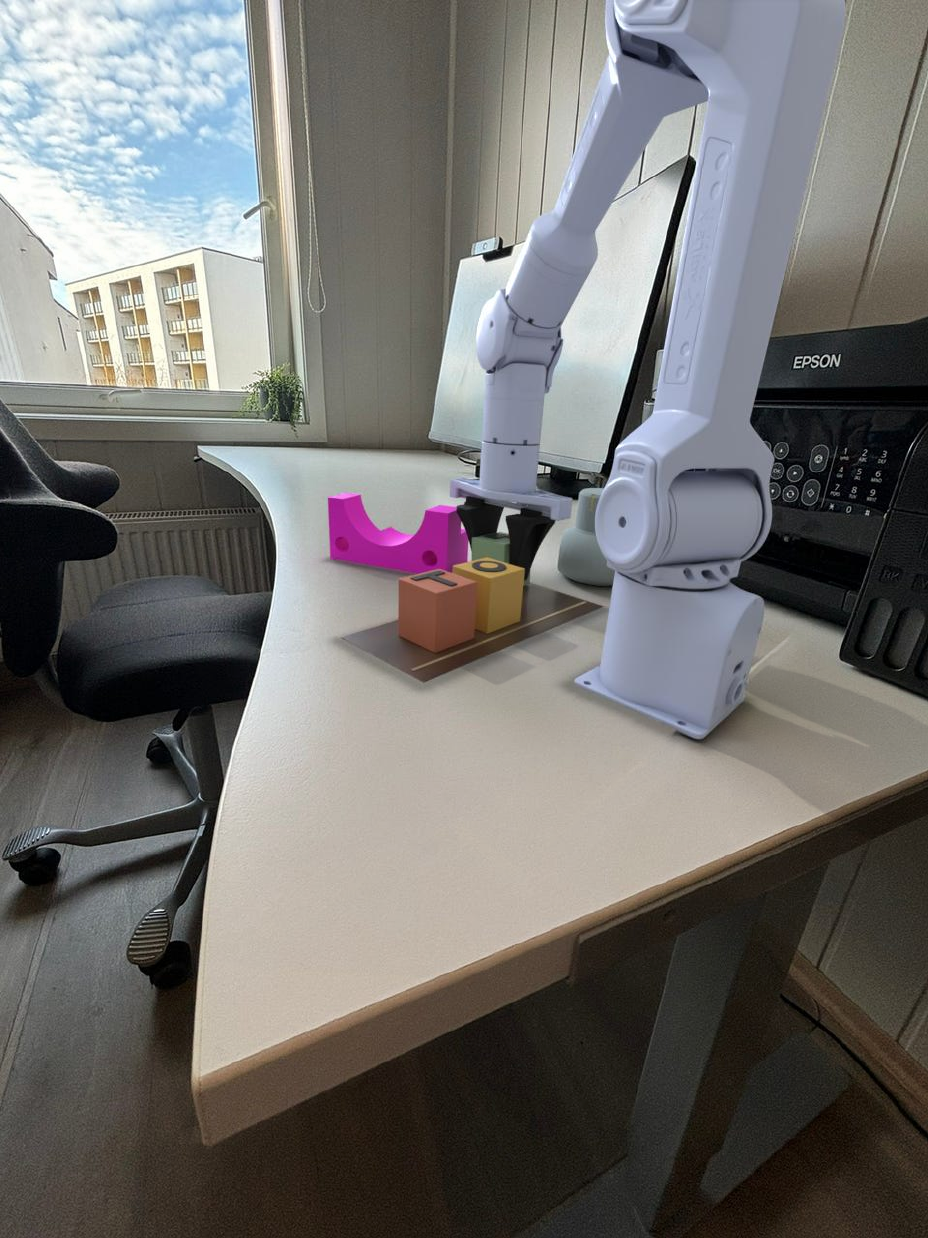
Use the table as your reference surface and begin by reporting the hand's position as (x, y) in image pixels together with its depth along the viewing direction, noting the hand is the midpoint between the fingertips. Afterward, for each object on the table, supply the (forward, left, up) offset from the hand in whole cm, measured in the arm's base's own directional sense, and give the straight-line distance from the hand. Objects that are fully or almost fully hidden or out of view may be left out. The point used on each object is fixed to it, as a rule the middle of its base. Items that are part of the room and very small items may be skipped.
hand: (500, 574), depth 60 cm
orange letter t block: (-6, +15, -1) cm, 16 cm away
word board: (-6, +9, -1) cm, 11 cm away
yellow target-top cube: (-6, +9, -1) cm, 11 cm away
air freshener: (-5, -11, -2) cm, 12 cm away
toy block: (+13, +3, -2) cm, 14 cm away
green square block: (0, 0, -1) cm, 1 cm away
